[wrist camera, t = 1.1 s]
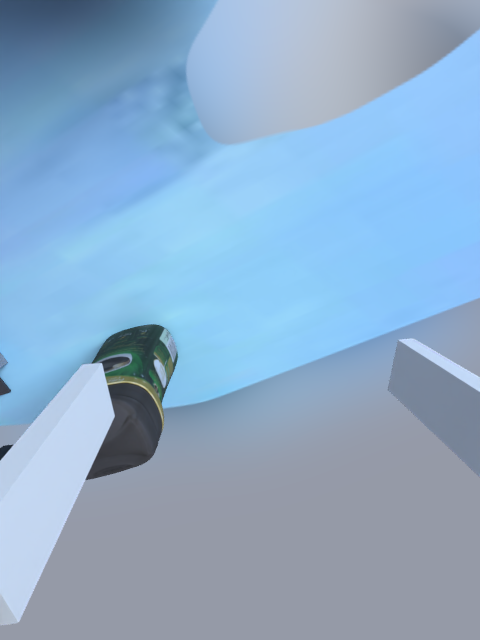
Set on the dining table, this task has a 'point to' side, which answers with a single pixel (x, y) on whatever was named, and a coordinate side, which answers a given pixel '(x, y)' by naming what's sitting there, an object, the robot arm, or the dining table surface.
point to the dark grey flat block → (3, 388)
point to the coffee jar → (134, 395)
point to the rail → (2, 360)
